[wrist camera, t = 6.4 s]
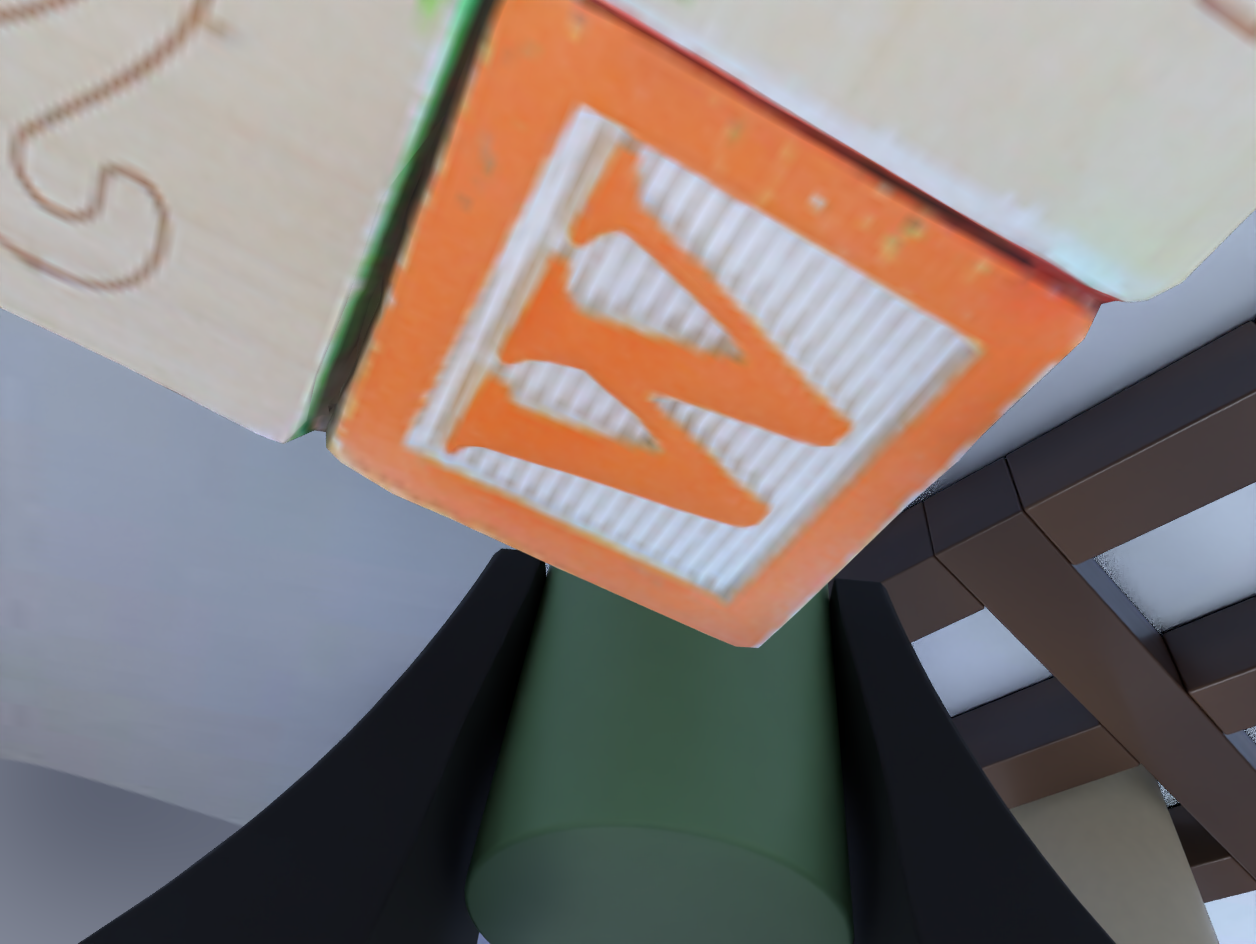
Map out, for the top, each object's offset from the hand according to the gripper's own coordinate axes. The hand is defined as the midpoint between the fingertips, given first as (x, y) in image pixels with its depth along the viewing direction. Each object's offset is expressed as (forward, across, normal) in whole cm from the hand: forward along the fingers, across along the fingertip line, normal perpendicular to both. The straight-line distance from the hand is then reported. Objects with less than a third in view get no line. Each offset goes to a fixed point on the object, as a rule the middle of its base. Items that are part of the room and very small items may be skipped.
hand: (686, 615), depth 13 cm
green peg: (+3, 0, 0) cm, 3 cm away
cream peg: (+7, -11, +14) cm, 19 cm away
